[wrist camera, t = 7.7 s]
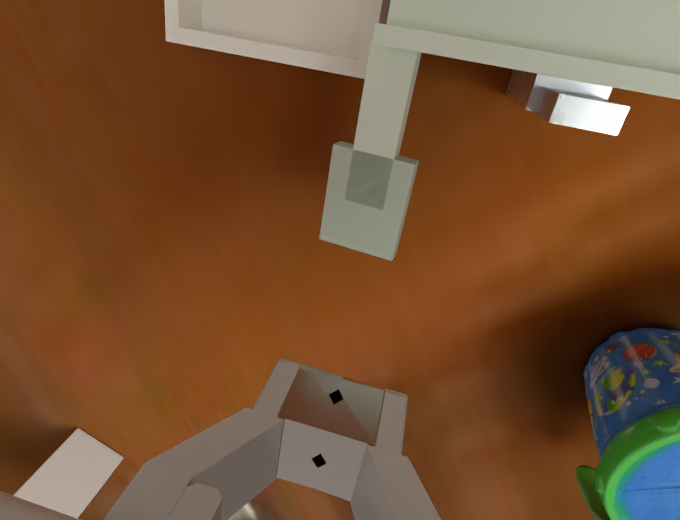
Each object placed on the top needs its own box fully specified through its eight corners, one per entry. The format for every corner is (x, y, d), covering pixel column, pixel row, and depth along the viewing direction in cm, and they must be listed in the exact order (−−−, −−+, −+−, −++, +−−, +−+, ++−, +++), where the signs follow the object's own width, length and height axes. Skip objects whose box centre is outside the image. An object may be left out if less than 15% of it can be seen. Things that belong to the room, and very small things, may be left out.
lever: (1068, -84, 12) (1262, -134, 9) (733, 354, 19) (775, 409, 16) (383, -138, 16) (354, -182, 13) (326, 232, 23) (299, 257, 20)
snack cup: (622, 462, 34) (687, 611, 25) (506, 400, 33) (529, 528, 25) (811, 326, 26) (1002, 469, 17) (664, 244, 26) (781, 347, 17)
